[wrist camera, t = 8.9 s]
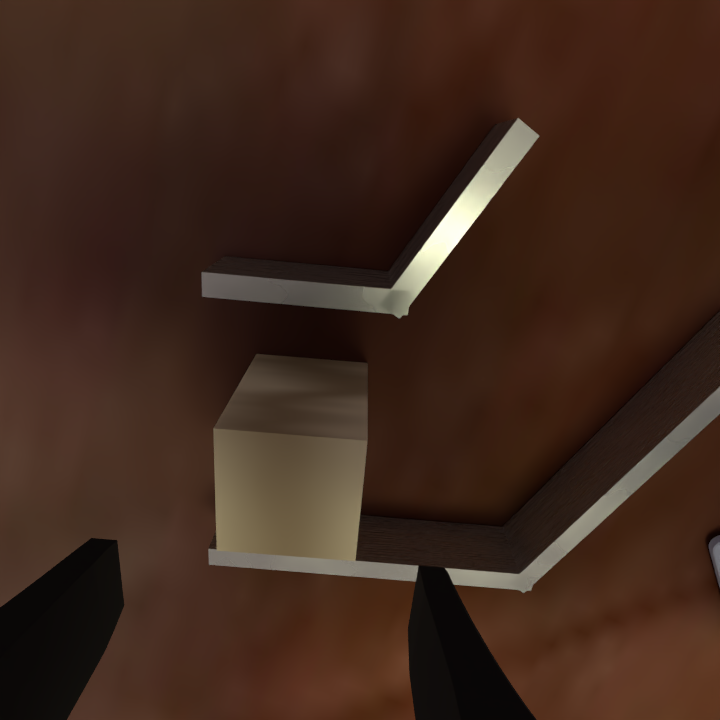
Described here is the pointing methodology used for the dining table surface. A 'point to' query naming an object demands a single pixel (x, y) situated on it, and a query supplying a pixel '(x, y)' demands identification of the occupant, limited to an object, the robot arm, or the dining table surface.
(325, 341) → the dining table surface
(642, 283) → the dining table surface
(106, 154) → the dining table surface
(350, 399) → the maple block
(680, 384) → the rail track
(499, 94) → the dining table surface
